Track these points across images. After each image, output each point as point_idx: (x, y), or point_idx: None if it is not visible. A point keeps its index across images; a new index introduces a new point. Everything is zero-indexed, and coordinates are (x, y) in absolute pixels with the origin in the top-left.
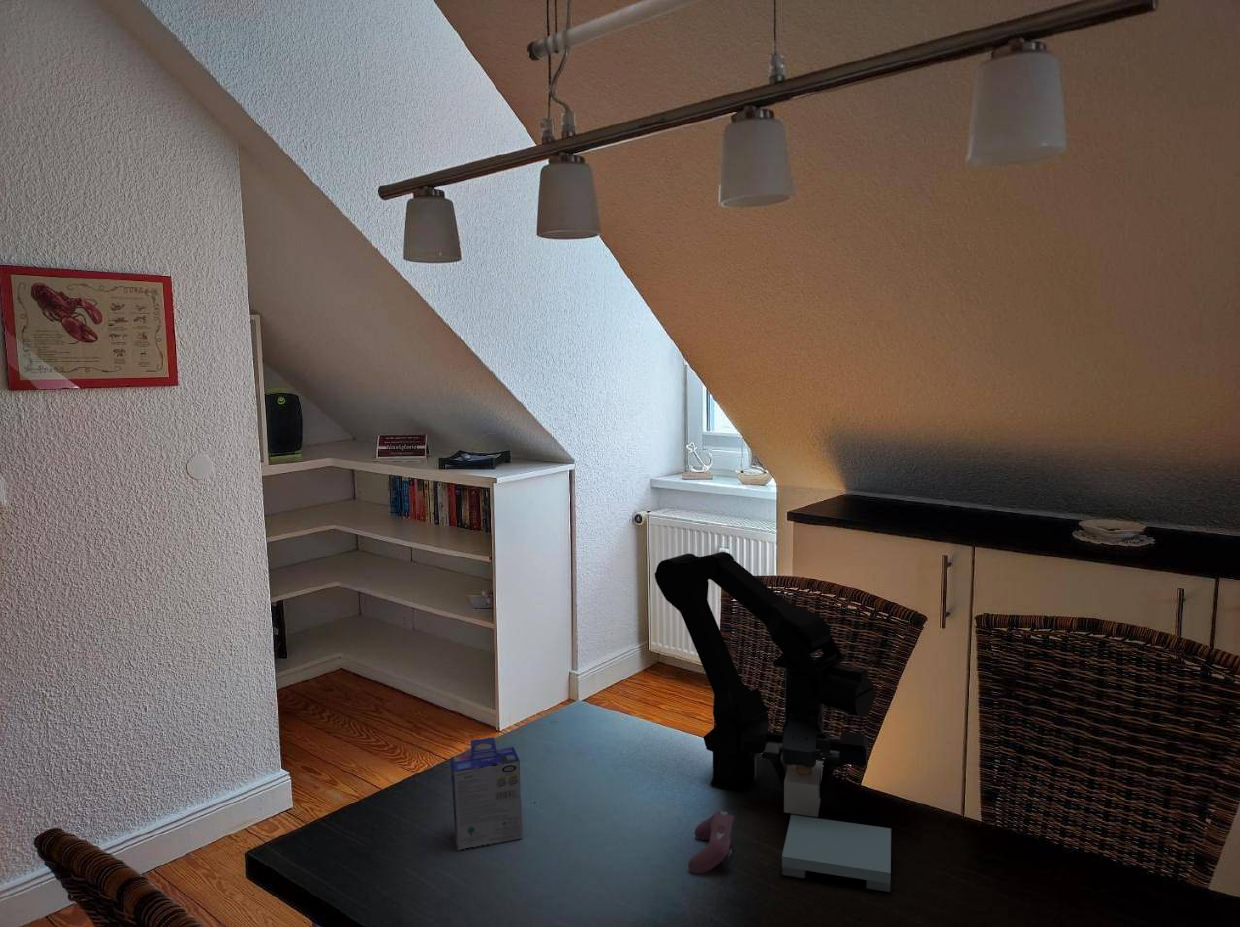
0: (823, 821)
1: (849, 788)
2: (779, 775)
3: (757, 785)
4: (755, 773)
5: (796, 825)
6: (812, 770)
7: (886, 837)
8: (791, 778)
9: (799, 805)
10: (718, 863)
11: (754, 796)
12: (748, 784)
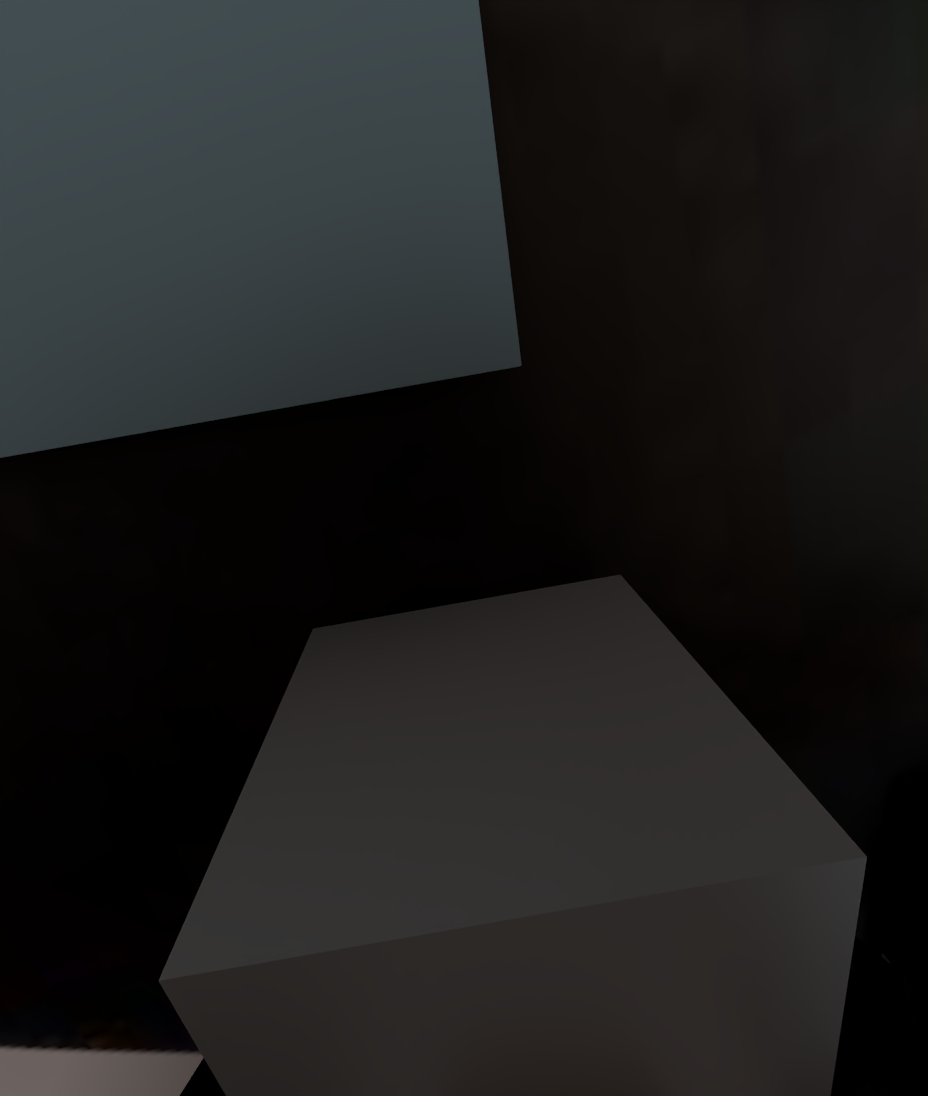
0: (56, 377)
1: None
2: (884, 983)
3: None
4: (920, 951)
5: (361, 53)
6: None
7: None
8: (726, 981)
9: (488, 646)
10: None
11: (851, 750)
12: (921, 841)
